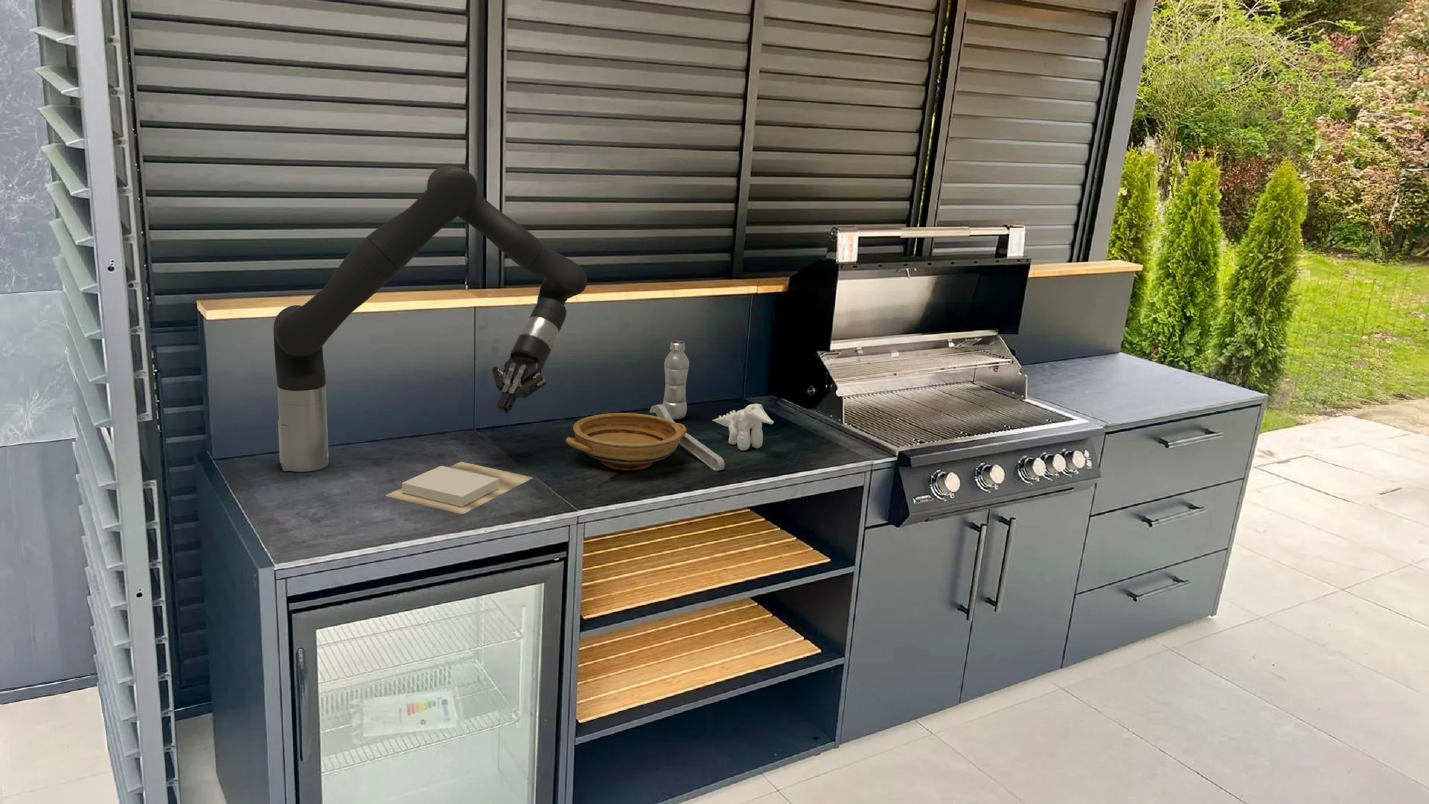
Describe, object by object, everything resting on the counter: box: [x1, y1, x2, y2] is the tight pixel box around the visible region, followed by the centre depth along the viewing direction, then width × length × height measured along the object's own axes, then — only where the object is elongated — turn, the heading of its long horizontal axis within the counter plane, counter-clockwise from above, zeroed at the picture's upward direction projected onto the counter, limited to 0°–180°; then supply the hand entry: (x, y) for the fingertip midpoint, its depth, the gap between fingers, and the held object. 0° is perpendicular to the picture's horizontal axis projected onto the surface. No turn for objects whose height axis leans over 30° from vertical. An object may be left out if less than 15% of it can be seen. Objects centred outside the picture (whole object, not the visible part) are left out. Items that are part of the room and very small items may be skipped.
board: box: [384, 461, 534, 515], centre depth 208 cm, size 24×18×2 cm
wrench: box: [649, 404, 725, 472], centre depth 242 cm, size 8×2×30 cm
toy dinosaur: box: [712, 403, 774, 451], centre depth 250 cm, size 7×24×11 cm, turn 35°
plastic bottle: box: [661, 340, 690, 420], centre depth 266 cm, size 6×7×20 cm
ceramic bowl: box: [565, 412, 688, 471], centre depth 232 cm, size 30×24×8 cm
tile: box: [401, 465, 499, 507], centre depth 205 cm, size 14×2×12 cm
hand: (502, 411), depth 217 cm, fingers closed
